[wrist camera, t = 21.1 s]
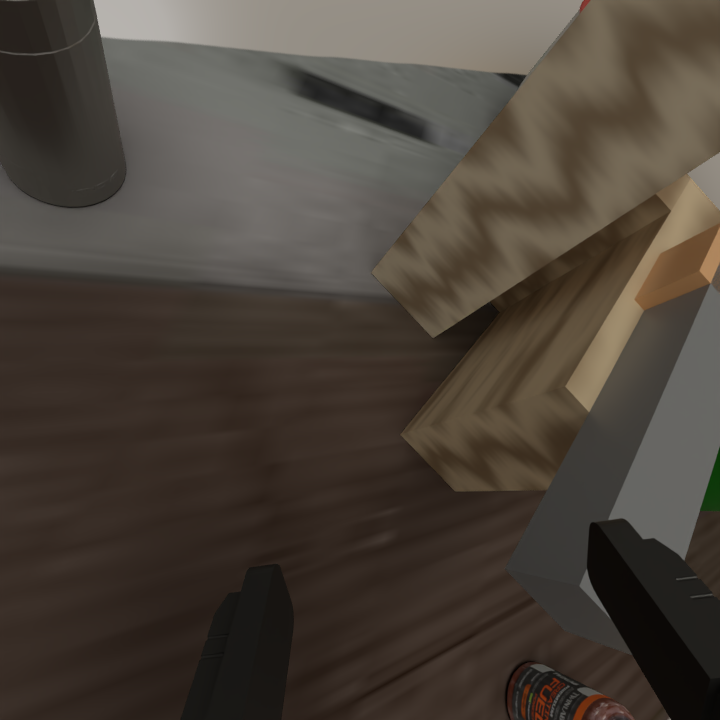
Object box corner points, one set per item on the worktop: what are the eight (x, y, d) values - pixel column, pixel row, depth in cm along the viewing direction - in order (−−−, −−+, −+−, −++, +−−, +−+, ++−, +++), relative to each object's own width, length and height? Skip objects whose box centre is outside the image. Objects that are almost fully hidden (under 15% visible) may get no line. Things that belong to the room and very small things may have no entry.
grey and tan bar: (489, 553, 18) (560, 566, 15) (660, 253, 30) (722, 221, 27) (579, 646, 19) (670, 681, 15) (713, 312, 31) (782, 289, 27)
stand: (301, 332, 41) (559, -46, 12) (447, 205, 53) (743, -128, 25) (455, 491, 42) (1021, 482, 13) (562, 330, 54) (973, 148, 26)
